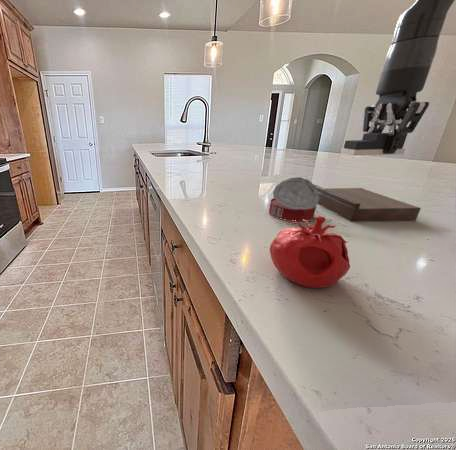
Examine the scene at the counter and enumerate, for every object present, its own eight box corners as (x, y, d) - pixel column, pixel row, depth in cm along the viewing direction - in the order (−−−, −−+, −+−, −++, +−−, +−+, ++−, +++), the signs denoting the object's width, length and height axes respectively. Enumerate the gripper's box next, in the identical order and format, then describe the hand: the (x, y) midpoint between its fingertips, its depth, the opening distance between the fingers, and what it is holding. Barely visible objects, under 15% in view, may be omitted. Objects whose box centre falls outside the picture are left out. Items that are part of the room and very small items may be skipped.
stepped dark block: (386, 152, 60) (393, 132, 58) (403, 154, 55) (411, 133, 54) (340, 153, 60) (345, 133, 58) (353, 155, 56) (359, 134, 54)
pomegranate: (254, 262, 40) (262, 209, 37) (305, 254, 42) (318, 203, 39) (299, 301, 31) (316, 236, 28) (362, 289, 33) (385, 226, 30)
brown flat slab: (357, 197, 71) (361, 183, 69) (415, 220, 54) (423, 202, 53) (308, 198, 72) (311, 184, 70) (350, 221, 55) (356, 203, 53)
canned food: (307, 230, 62) (338, 201, 55) (284, 236, 57) (316, 204, 50) (276, 201, 68) (301, 171, 61) (253, 204, 63) (277, 172, 56)
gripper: (462, 58, 44) (425, 155, 51) (394, 73, 57) (372, 149, 64) (419, 60, 45) (387, 156, 51) (361, 75, 58) (342, 149, 64)
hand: (379, 151), depth 58 cm, fingers closed on stepped dark block, 4 cm apart
